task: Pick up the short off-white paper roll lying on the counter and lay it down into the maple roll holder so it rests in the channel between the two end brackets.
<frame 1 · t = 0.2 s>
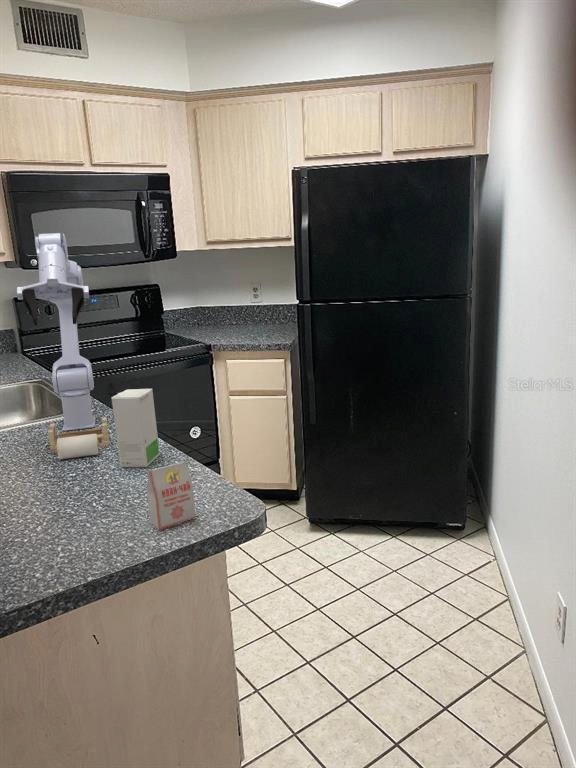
hand: (55, 321, 127), 31 cm above the counter, tool tilted 45°, fingers open, 7 cm apart
tea bag: (173, 521, 103), on the counter
skincare box: (139, 461, 132), on the counter
paper roll: (78, 446, 137), point 2 cm above the counter
holder: (80, 444, 145), on the counter
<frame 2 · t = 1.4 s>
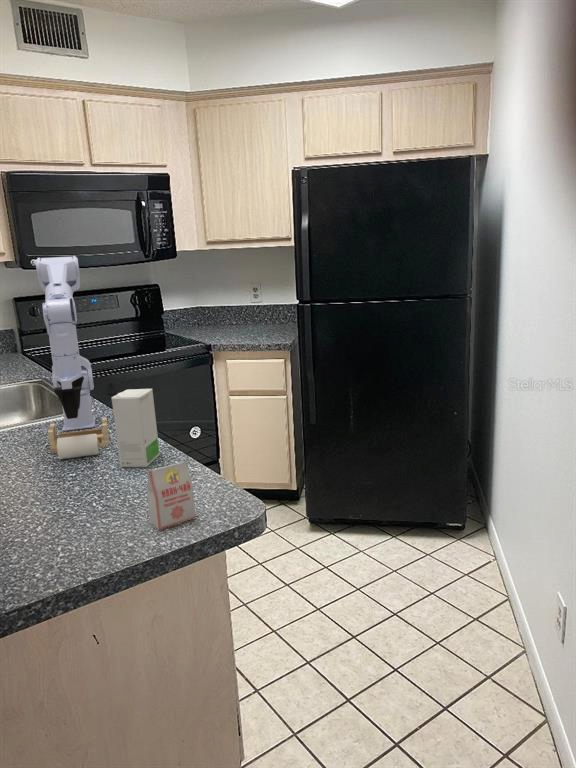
hand: (73, 413, 135), 10 cm above the counter, tool pointing down, fingers open, 7 cm apart
nothing on the counter moved.
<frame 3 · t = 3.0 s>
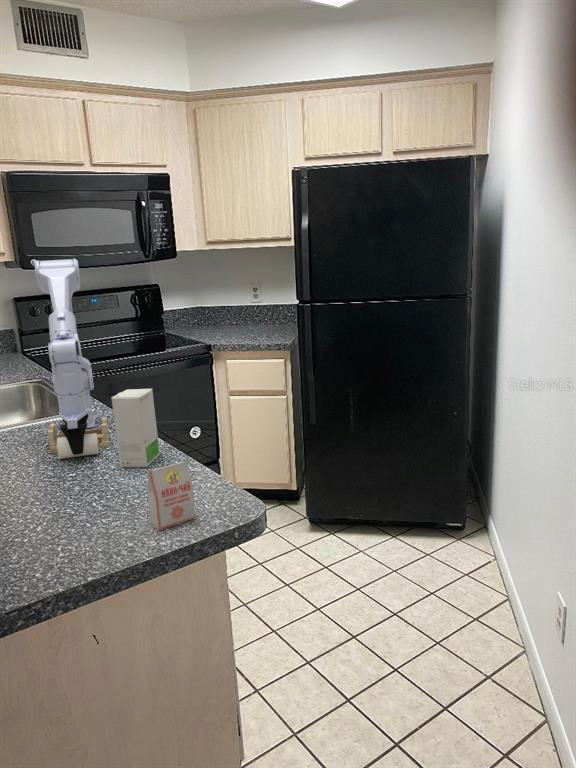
hand: (78, 450, 137), 1 cm above the counter, tool pointing down, fingers closed on paper roll, 5 cm apart
paper roll: (78, 445, 137), point 2 cm above the counter, touching gripper
everything else where it was.
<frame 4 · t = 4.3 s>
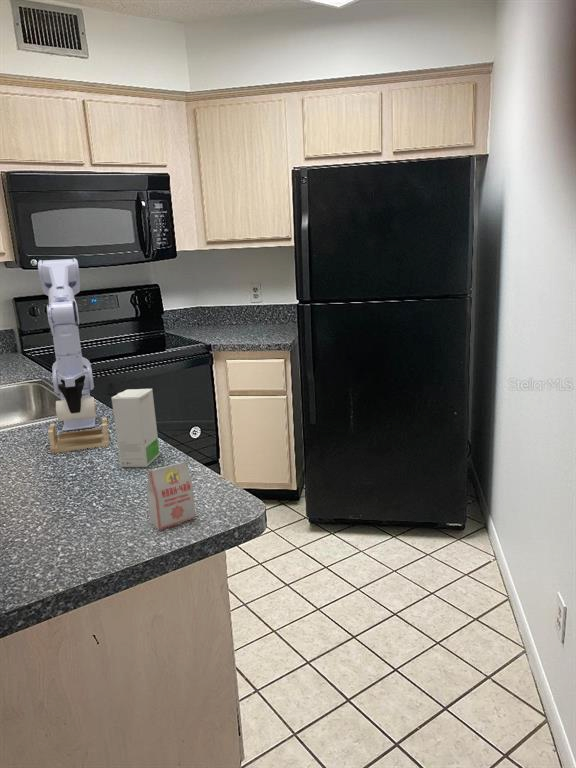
hand: (76, 409, 143), 9 cm above the counter, tool pointing down, fingers closed on paper roll, 5 cm apart
paper roll: (76, 408, 143), point 9 cm above the counter, tilted 11°, touching gripper
everything else where it was.
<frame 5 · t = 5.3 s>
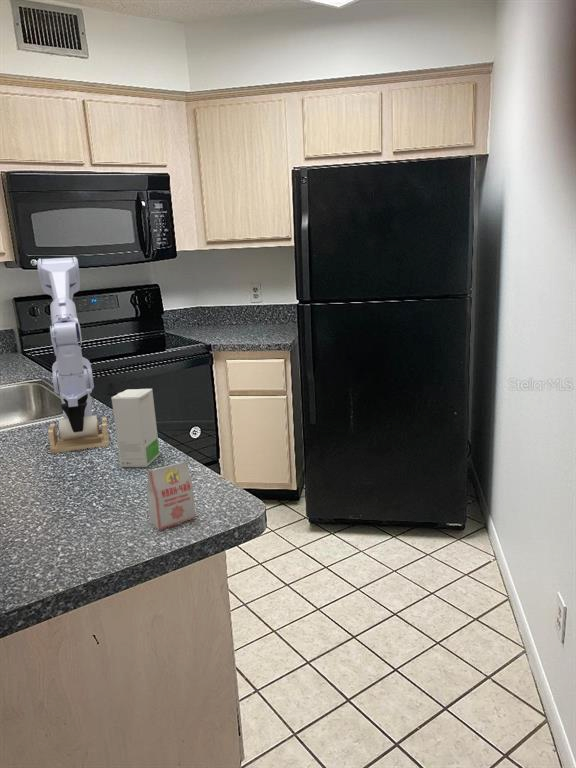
hand: (78, 428, 144), 4 cm above the counter, tool pointing down, fingers closed on paper roll, 5 cm apart
paper roll: (78, 427, 144), point 4 cm above the counter, tilted 12°, touching gripper
everything else where it was.
when the fingers open (4 cm above the counter, at t = 5.8 s): paper roll moves 1 cm, resting on holder.
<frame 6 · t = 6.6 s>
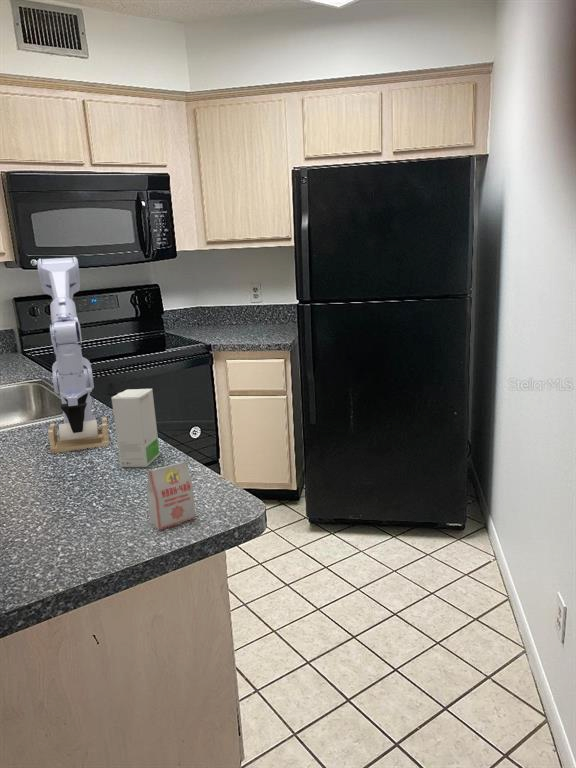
hand: (78, 427, 144), 4 cm above the counter, tool pointing down, fingers open, 7 cm apart
paper roll: (79, 431, 144), point 3 cm above the counter, tilted 9°, touching holder
everything else where it was.
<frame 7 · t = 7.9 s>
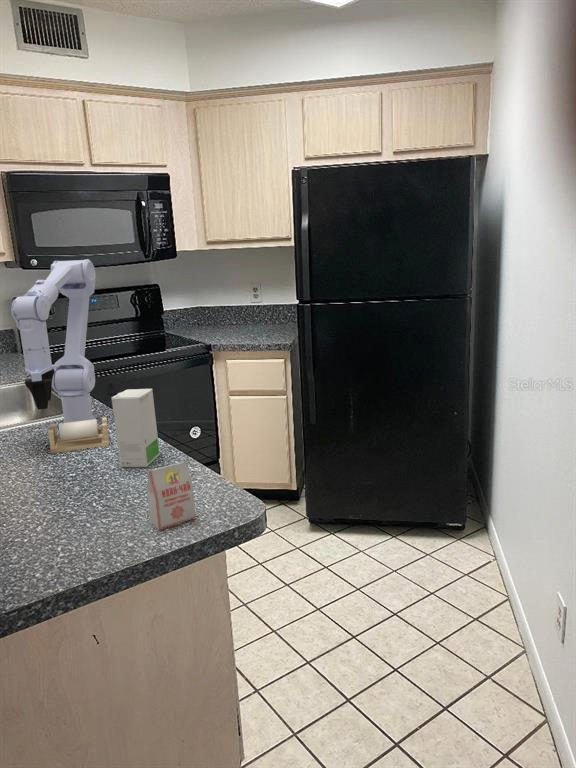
hand: (44, 404, 142), 10 cm above the counter, tool pointing down, fingers open, 7 cm apart
paper roll: (79, 431, 144), point 3 cm above the counter, touching holder
everything else where it was.
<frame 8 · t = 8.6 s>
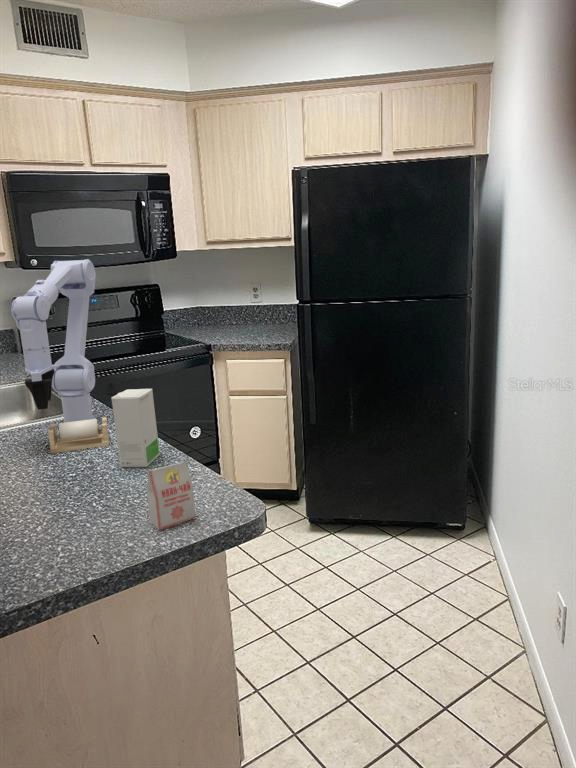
hand: (44, 404, 142), 10 cm above the counter, tool pointing down, fingers open, 7 cm apart
paper roll: (79, 430, 144), point 3 cm above the counter, tilted 10°, touching holder
everything else where it was.
at the end: paper roll 0.1 cm off-centre on the holder, point 3.4 cm above the holder's base; the gripper is holding nothing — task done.
